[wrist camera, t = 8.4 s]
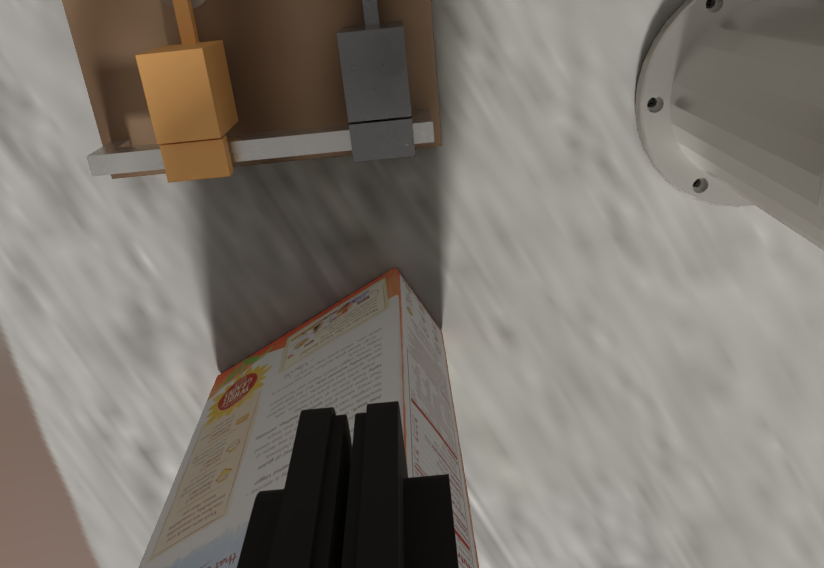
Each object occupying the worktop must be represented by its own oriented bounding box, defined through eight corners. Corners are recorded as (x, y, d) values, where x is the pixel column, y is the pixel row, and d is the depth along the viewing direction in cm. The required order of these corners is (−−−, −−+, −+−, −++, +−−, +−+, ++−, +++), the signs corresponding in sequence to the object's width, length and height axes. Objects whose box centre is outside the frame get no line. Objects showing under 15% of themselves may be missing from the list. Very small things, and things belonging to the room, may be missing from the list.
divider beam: (415, -61, 33) (418, -65, 30) (432, 135, 37) (436, 154, 34) (65, -24, 34) (25, -23, 30) (118, 167, 38) (88, 188, 34)
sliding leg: (207, -39, 33) (183, -40, 29) (246, 156, 37) (229, 177, 33) (145, -33, 33) (113, -33, 30) (190, 161, 37) (167, 183, 33)
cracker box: (272, 436, 47) (188, 755, 28) (214, 372, 45) (81, 670, 26) (449, 336, 44) (491, 615, 25) (397, 262, 42) (399, 506, 23)
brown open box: (421, -105, 34) (422, -109, 33) (440, 139, 39) (442, 146, 37) (57, -66, 34) (41, -68, 33) (121, 171, 39) (111, 179, 38)
